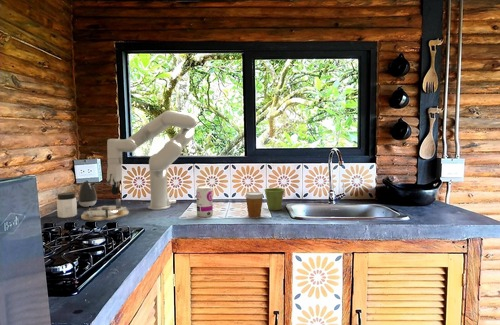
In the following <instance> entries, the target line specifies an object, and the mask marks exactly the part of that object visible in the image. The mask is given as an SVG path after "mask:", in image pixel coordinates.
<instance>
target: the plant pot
mask: <svg viewBox="0 0 500 325" xmlns="http://www.w3.org/2000/svg"><path fill="white" fill-rule="evenodd" d="M263 191H264V195H265V197H266V198H265V199H266V202H267V204H266V205H267V208H268V210H269V211H270V210H271V211H278V210H281V209H282V204H283V198H284V194H285V191H286V188H282V187H270V188H264V189H263Z"/></svg>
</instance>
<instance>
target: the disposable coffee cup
mask: <svg viewBox="0 0 500 325" xmlns="http://www.w3.org/2000/svg"><path fill="white" fill-rule="evenodd" d="M264 195H265V194H263V192H261V191H248V192H245V194H244V197H245V199H246V200H245V201H246V208H247V214H248V215H247V216H248V217H249V218H252V217H257V218H260V217H261V214H262V206H263V198H264Z"/></svg>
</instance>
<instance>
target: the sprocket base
mask: <svg viewBox="0 0 500 325" xmlns="http://www.w3.org/2000/svg"><path fill="white" fill-rule="evenodd" d="M105 212H106V217H105V216H99V217H89V216H88V215H84V212H83V213H82V214H80V217H81V219H82V220H83V221H87V222H88V221H91V222H98V221H99V222H101V221H110V220H115V219H121V218H124V217H126V216H128V215H129V214H130V213H129V212H130V211H129V209H128V208H126V211H123V213H122V214H116V215H110V216H108V209H106V210H105Z"/></svg>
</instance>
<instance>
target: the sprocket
mask: <svg viewBox="0 0 500 325" xmlns="http://www.w3.org/2000/svg"><path fill="white" fill-rule="evenodd" d="M121 201H122V200H121V198H116V199H115V205H101V206H95V207H88V209H87V210H84V211H83V213H84V215H88V216H89V217H99V216H105V217H106V212H105V210H106V209H108V216H110V215H116V214H122V213H123V211H126V209H127V206H122V205H121V204H122V203H121Z"/></svg>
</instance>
